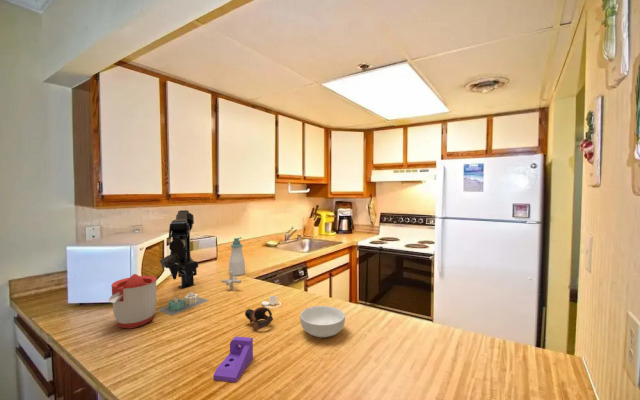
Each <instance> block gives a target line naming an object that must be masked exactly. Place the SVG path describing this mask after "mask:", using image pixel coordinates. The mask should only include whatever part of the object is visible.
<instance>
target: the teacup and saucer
mask: <svg viewBox="0 0 640 400" xmlns="http://www.w3.org/2000/svg"><path fill="white" fill-rule="evenodd" d="M268 298H269V301H266V300H265V301H264V300H263V301H261V303H260V304H261V306H262V307H266V308H268V309H269V308H270V309H274V308H275V309H276V308H278V305H279V303H280V305H279V307H281V305H282V302H280V301H279V297H277V296H276V295H269V297H268ZM276 301H277V302H279V303H277V302H276ZM269 302H270V303H269ZM276 304H278V305H276ZM269 305H270V306H269ZM274 305H276V306H274Z"/></svg>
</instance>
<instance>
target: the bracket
mask: <svg viewBox="0 0 640 400" xmlns="http://www.w3.org/2000/svg"><path fill="white" fill-rule="evenodd" d="M253 339H254V338H253V337H246V336H234V338H232V339H231V341H230V342H229V354H228V355H227V356H226V357H225V358H224V359H223V361H222V362H221V363H220V364H219V365H218V366H217V368H216V370H215V371H214V373H213V380H214V381H219V382H228V381H229V382H231V383H237V382H238V381H239V379H240V377H241V376H242V374H243V373H244V371H245V370H246V369H247V367H248V366H249V365H250V363H251V362H252V360H253V359H254V348H253V347H254V341H253ZM229 382H228V383H229Z"/></svg>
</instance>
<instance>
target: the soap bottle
mask: <svg viewBox="0 0 640 400" xmlns="http://www.w3.org/2000/svg"><path fill="white" fill-rule="evenodd" d="M240 239H242V237H240V236H239V237H236V238H235V237H234V239H233V240H232V244H231V245H230V248H231V249H230V250H231V251H230V258H229V260H228V274H229V275H230V272H231V271H233V277H238V276H242V275H244V274H245V273H246V265H245V259H244V254H243V246H244V245H243V243H241V241H240Z"/></svg>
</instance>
